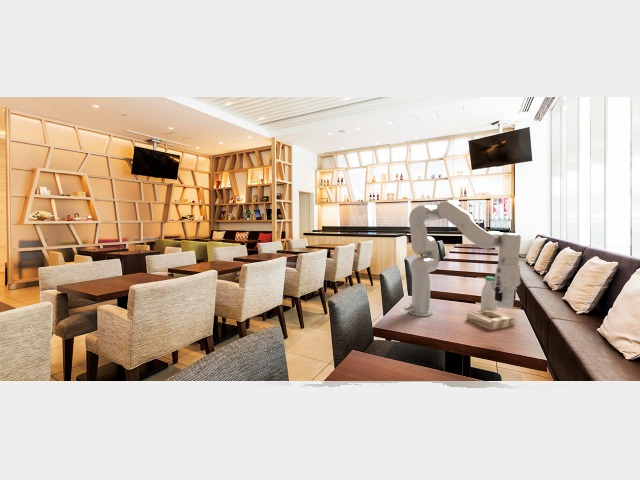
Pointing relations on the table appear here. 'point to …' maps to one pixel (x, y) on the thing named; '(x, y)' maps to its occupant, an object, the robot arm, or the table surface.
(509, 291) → the skincare box
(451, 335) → the table surface
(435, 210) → the robot arm
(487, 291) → the milk bottle
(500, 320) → the socket block
